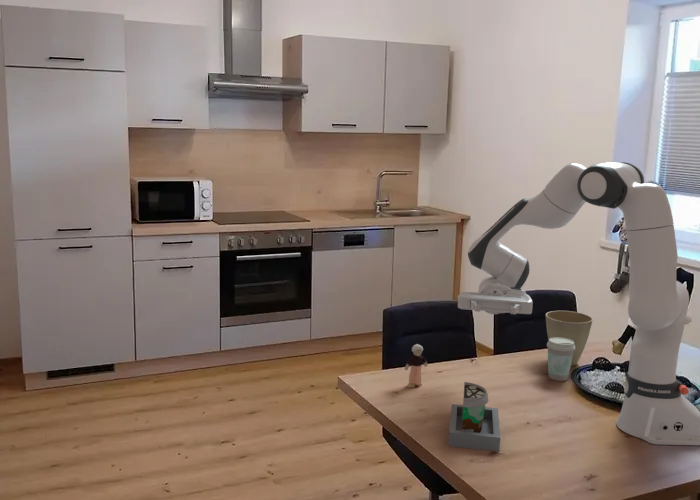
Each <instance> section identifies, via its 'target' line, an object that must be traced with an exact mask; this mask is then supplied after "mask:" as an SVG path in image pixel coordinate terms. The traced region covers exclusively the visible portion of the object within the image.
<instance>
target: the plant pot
mask: <svg viewBox="0 0 700 500" xmlns="http://www.w3.org/2000/svg"><path fill="white" fill-rule="evenodd" d="M593 320H594V319H593V317H592V316H590V315H588V314H585V313H583V312H578V311H573V310H572V311H570V310H553V311H548V312H546V313H545V322H546V323H545V324H546V334H547V340H548V341H549V339H550V338H555V337H559V338H566V339H570V340H572V341H573V342H574V345H575V350H574V353H573V358H572V362H571V367H573V365H574V366H576V365H577V364H578V362H579V361H580V358H581V357H582V354H583V352H584V350H585V347H586V344H587V342H588V339H589V336H590V334H591V333H590V332H591V328H592V324H593V322H594V321H593Z"/></svg>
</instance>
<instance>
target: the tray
mask: <svg viewBox="0 0 700 500" xmlns="http://www.w3.org/2000/svg"><path fill="white" fill-rule="evenodd" d="M450 409H451V410H450V419H449V431H448V447H454V448H463V449H472V450H483V451H488V452H489V451H490V452H491V451H492V452H500V447H501V429H500V418H499V408H496V407H486V406H485V410H484V417H483V423H482V430H481V432H480V433H475V432H466V431H461V430H462V413H463V404H460V403H459V404H458V403H457V404H456V403H451V408H450Z"/></svg>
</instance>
